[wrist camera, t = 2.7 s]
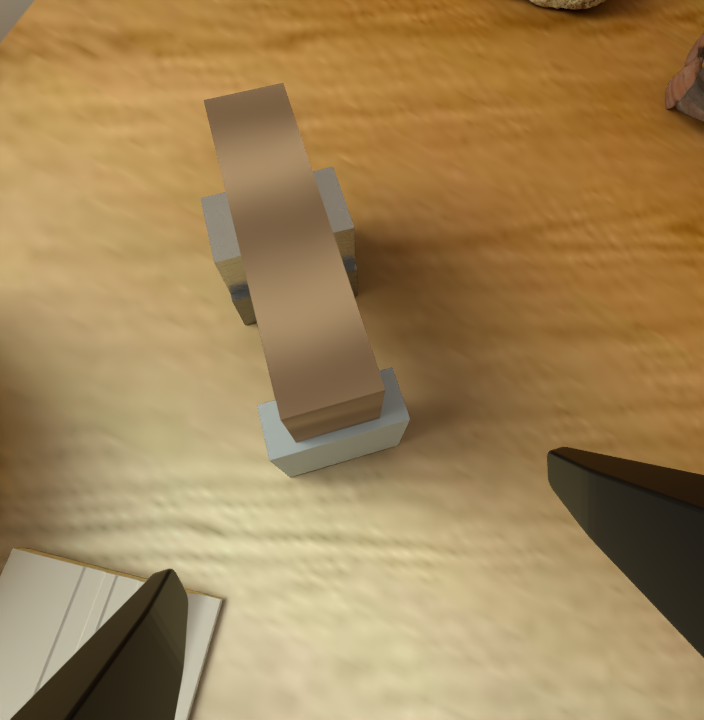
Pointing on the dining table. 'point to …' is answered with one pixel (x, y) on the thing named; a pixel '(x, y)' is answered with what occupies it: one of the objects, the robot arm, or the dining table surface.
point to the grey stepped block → (229, 252)
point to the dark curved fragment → (689, 84)
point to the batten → (293, 268)
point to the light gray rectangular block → (335, 435)
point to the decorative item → (568, 3)
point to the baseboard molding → (75, 622)
